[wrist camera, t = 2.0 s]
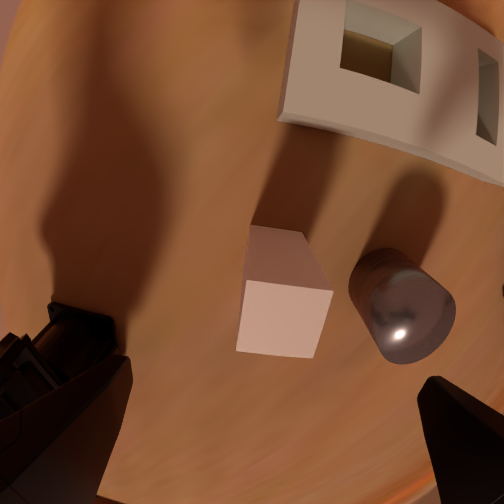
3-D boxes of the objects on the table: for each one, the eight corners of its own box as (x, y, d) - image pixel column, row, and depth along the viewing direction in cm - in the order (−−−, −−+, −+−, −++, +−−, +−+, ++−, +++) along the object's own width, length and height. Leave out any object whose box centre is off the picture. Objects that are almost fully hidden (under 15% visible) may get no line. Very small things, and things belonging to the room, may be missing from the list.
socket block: (276, 120, 16) (282, 111, 12) (297, -14, 13) (305, -46, 9) (482, 181, 16) (517, 190, 13) (490, 65, 13) (522, 58, 9)
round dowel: (340, 310, 20) (365, 364, 14) (359, 243, 18) (398, 281, 13) (398, 315, 20) (434, 363, 14) (419, 253, 18) (467, 290, 13)
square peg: (243, 272, 19) (235, 350, 11) (250, 224, 18) (246, 279, 10) (292, 279, 19) (312, 358, 12) (301, 232, 18) (333, 291, 11)
